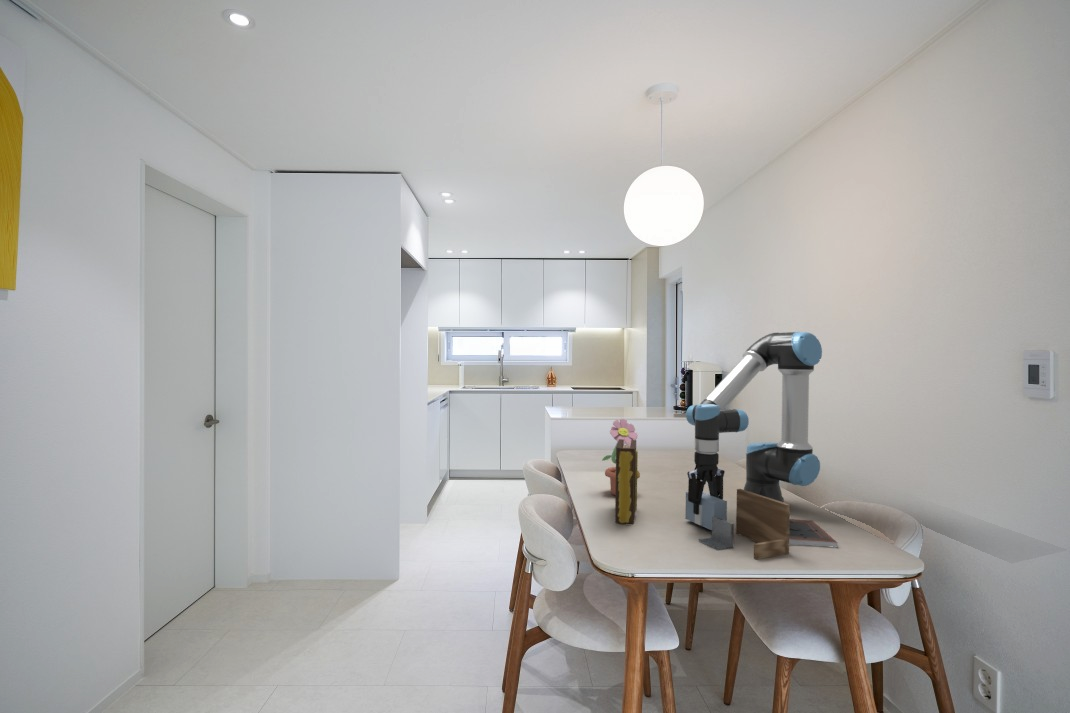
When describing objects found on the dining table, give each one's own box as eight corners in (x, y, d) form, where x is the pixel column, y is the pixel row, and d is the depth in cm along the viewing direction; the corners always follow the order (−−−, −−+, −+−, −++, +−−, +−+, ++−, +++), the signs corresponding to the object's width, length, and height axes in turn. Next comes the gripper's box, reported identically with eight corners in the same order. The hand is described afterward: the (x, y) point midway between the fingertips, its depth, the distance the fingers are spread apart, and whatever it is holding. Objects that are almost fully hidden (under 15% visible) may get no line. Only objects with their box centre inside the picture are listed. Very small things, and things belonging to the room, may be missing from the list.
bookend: (714, 538, 167) (714, 515, 167) (733, 547, 160) (733, 523, 160) (698, 541, 165) (699, 518, 165) (717, 550, 158) (717, 526, 158)
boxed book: (697, 516, 186) (697, 490, 186) (726, 529, 173) (727, 501, 173) (684, 518, 184) (685, 491, 184) (713, 531, 171) (714, 502, 171)
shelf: (739, 532, 173) (740, 488, 173) (788, 553, 156) (789, 504, 156) (709, 537, 168) (709, 492, 168) (756, 559, 151) (757, 508, 151)
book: (637, 525, 179) (638, 449, 179) (611, 523, 181) (612, 448, 181) (638, 506, 201) (639, 439, 201) (615, 505, 203) (616, 437, 203)
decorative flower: (609, 500, 210) (610, 422, 210) (597, 490, 223) (598, 417, 223) (645, 498, 213) (646, 421, 213) (631, 489, 227) (632, 417, 226)
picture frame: (760, 523, 185) (778, 546, 164) (760, 516, 185) (778, 537, 164) (812, 527, 182) (837, 550, 161) (812, 519, 182) (837, 541, 161)
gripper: (720, 448, 185) (719, 516, 185) (676, 451, 178) (675, 522, 178) (736, 452, 178) (735, 523, 179) (691, 455, 171) (690, 529, 171)
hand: (705, 522), depth 178 cm, fingers closed on boxed book, 5 cm apart
